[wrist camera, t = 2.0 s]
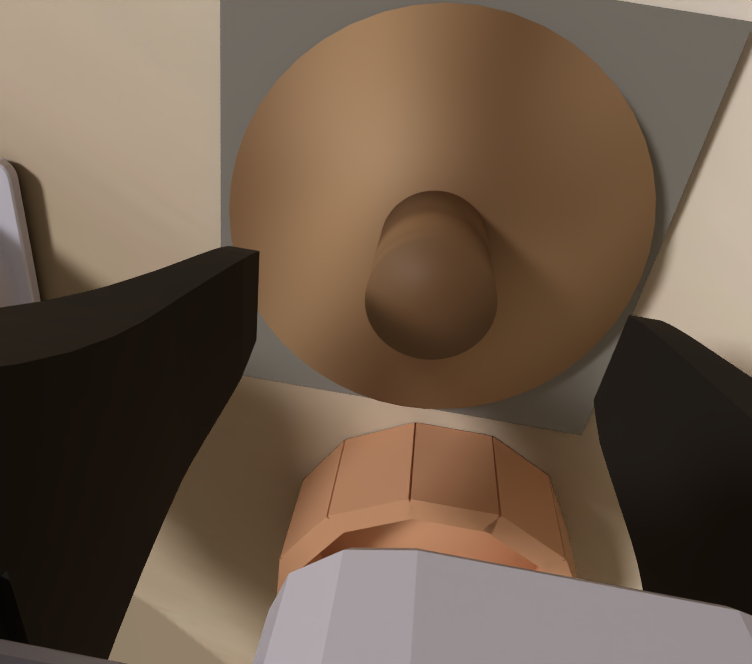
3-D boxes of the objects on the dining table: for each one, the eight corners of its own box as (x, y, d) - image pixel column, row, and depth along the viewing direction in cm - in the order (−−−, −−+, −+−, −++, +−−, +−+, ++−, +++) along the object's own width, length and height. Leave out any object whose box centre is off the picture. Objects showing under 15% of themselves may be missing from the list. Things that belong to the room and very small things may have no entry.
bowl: (292, 585, 25) (271, 665, 22) (310, 403, 20) (286, 476, 17) (521, 627, 25) (531, 714, 22) (599, 454, 20) (626, 537, 17)
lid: (236, 362, 19) (185, 452, 15) (240, -33, 13) (161, -42, 10) (571, 419, 19) (602, 524, 15) (720, 42, 13) (828, 63, 9)
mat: (225, 364, 20) (221, 371, 19) (225, -61, 13) (220, -63, 13) (579, 427, 19) (581, 435, 19) (746, 21, 13) (754, 22, 13)
